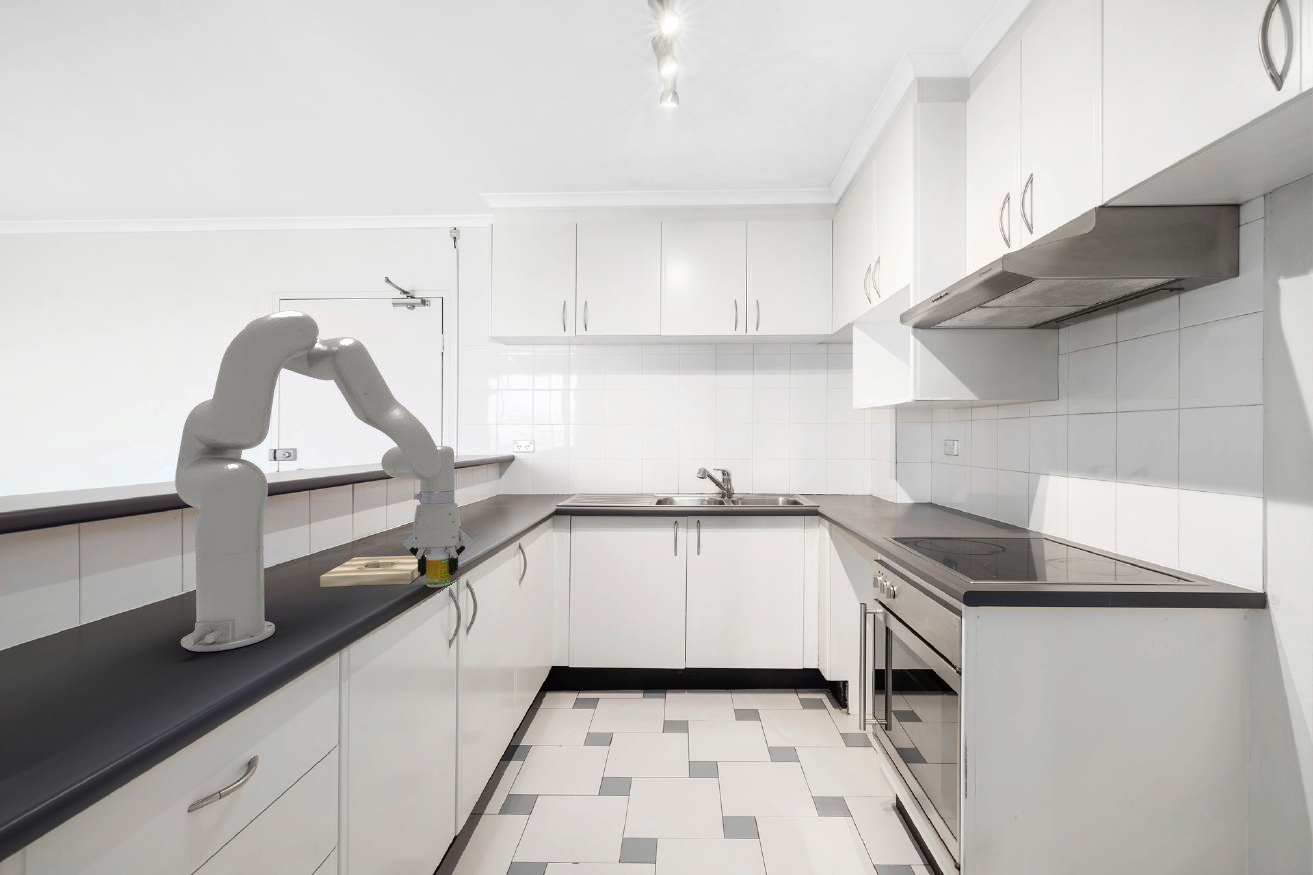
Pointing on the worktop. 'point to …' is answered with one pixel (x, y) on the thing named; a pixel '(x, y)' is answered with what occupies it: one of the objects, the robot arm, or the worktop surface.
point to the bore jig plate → (373, 571)
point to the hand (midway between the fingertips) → (438, 573)
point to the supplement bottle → (438, 567)
